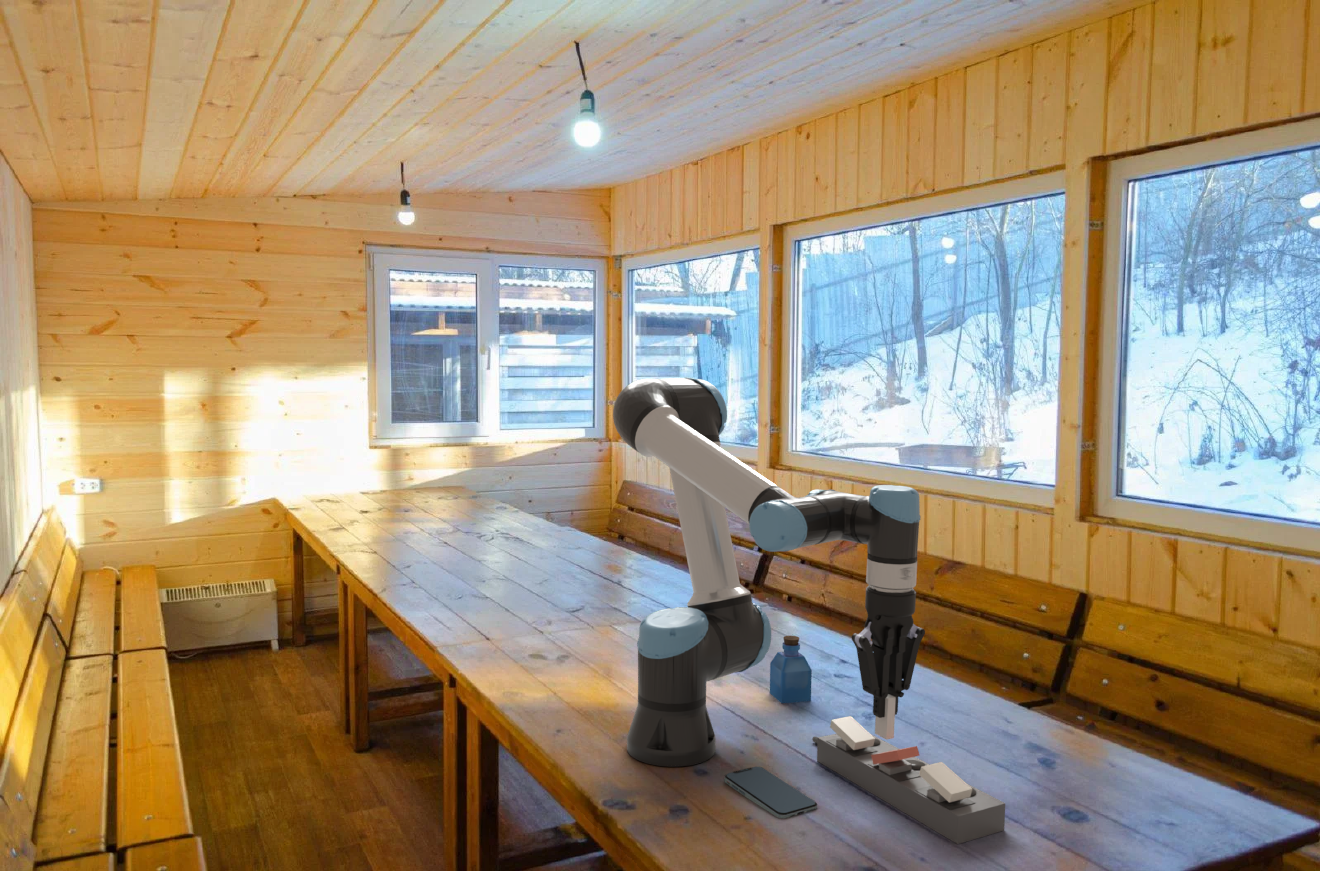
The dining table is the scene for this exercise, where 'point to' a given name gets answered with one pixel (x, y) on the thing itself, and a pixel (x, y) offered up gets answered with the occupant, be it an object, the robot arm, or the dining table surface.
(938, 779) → the rocker near
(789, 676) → the perfume bottle
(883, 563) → the robot arm
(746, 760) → the dining table surface
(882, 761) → the rocker mid
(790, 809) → the smartphone
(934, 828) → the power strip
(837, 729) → the rocker far
